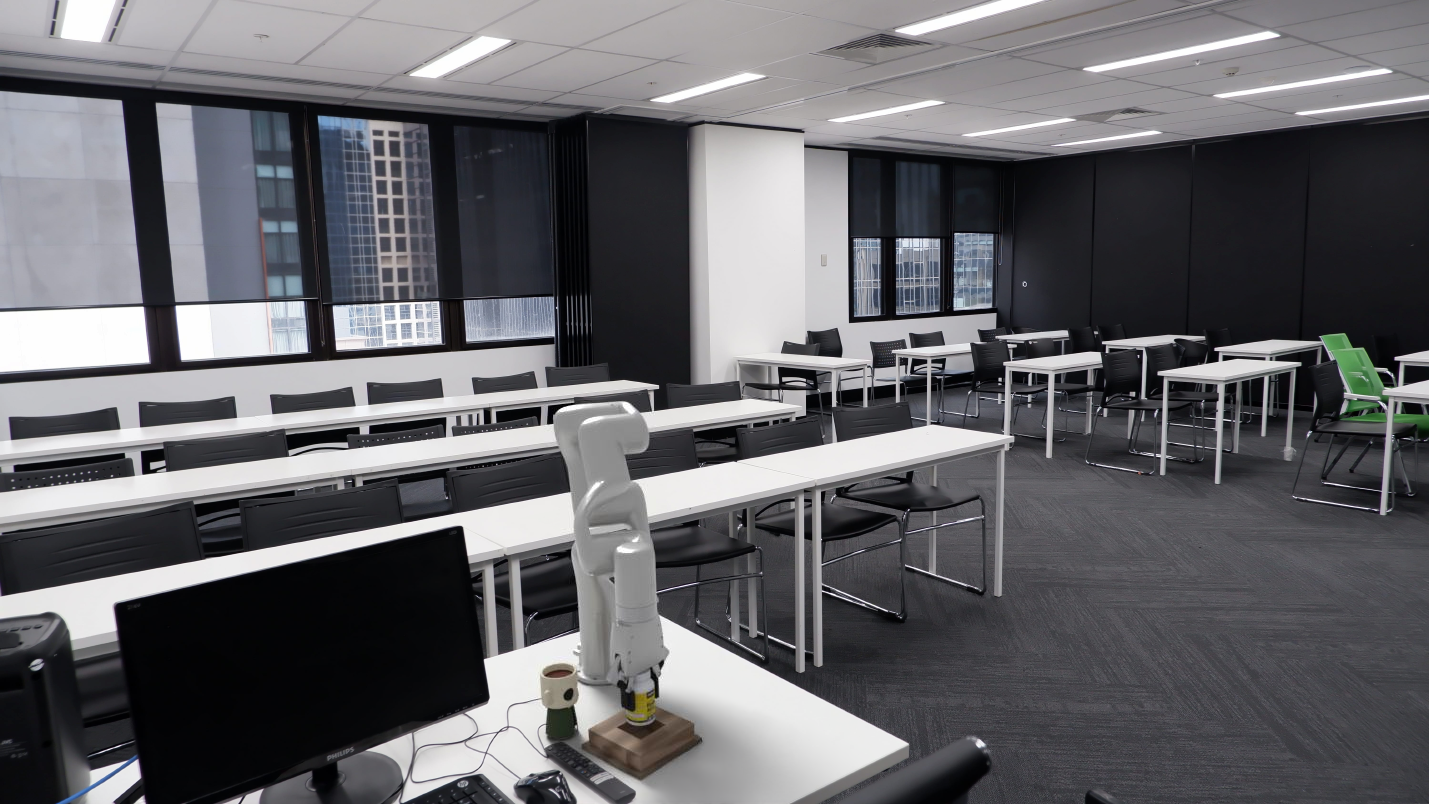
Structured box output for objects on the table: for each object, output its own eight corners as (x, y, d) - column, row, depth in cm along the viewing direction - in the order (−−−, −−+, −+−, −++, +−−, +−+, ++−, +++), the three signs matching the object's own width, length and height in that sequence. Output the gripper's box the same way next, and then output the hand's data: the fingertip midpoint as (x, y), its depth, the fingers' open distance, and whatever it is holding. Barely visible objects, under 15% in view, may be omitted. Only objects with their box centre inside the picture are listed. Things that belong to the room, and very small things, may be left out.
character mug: (565, 751, 160) (562, 686, 158) (531, 745, 162) (527, 681, 160) (591, 721, 170) (588, 659, 168) (558, 716, 172) (555, 655, 170)
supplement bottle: (651, 727, 157) (649, 677, 156) (622, 725, 158) (620, 675, 157) (659, 712, 162) (657, 664, 161) (631, 710, 164) (629, 662, 162)
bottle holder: (581, 748, 161) (580, 729, 160) (643, 713, 172) (642, 696, 172) (640, 780, 150) (639, 760, 149) (702, 741, 162) (701, 722, 161)
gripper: (655, 591, 166) (658, 679, 169) (587, 620, 153) (591, 714, 156) (683, 600, 161) (686, 691, 164) (615, 630, 148) (619, 728, 151)
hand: (640, 701), depth 160 cm, fingers closed on supplement bottle, 5 cm apart
